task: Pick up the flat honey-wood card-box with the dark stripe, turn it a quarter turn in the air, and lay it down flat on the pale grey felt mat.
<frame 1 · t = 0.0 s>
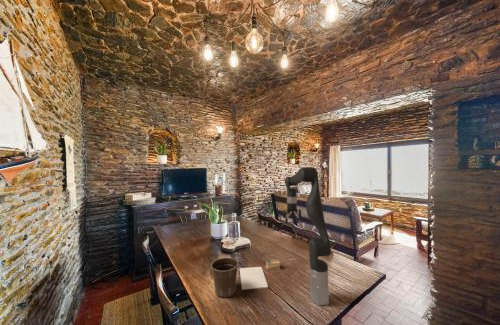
hand: (292, 222, 153), 29 cm above the table, tool pointing down, fingers open, 8 cm apart
felt mat: (252, 277, 130), on the table
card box: (272, 268, 142), on the table
plant pot: (225, 291, 116), on the table
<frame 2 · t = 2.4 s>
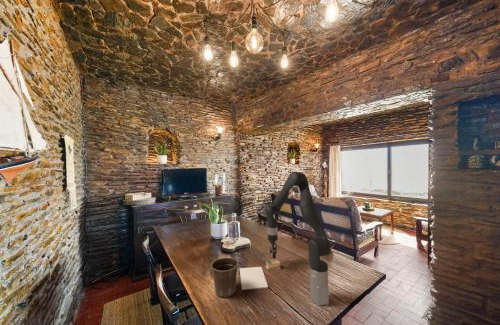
hand: (272, 255, 142), 9 cm above the table, tool pointing down, fingers open, 8 cm apart
nothing on the table moved.
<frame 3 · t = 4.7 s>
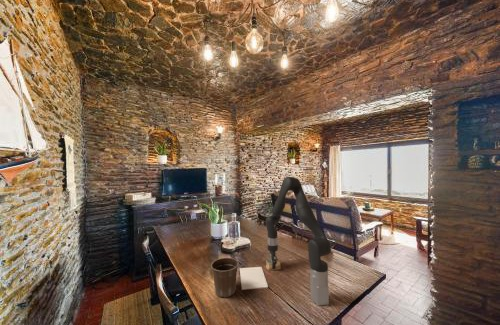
hand: (272, 266, 142), 1 cm above the table, tool pointing down, fingers closed on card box, 5 cm apart
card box: (273, 268, 142), on the table, touching gripper
everything else where it was.
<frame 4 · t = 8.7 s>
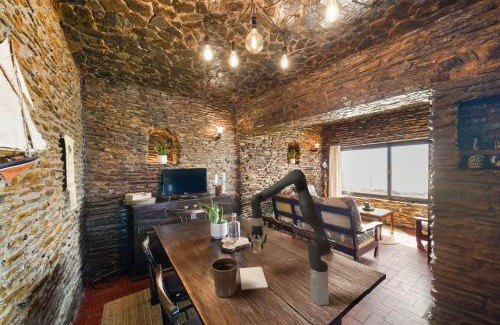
hand: (257, 248, 133), 18 cm above the table, tool pointing down, fingers closed on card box, 5 cm apart
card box: (257, 250, 134), point 17 cm above the table, touching gripper
everything else where it was.
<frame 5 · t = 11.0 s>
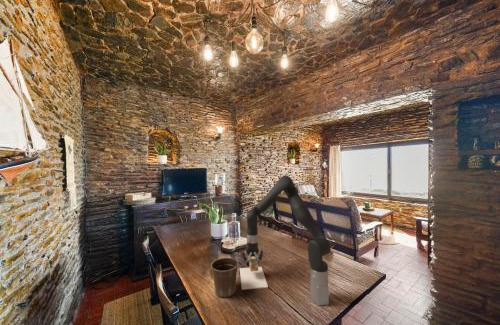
hand: (252, 266, 131), 7 cm above the table, tool pointing down, fingers closed on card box, 5 cm apart
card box: (252, 267, 131), point 6 cm above the table, touching gripper
everything else where it was.
when the fingers open (3 cm above the table, at t = 12.8 s): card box drops 1 cm, resting on felt mat.
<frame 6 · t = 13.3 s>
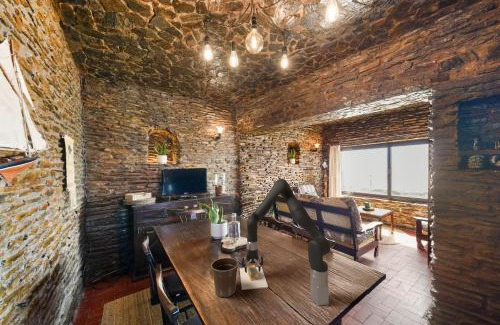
hand: (252, 272, 130), 4 cm above the table, tool pointing down, fingers open, 8 cm apart
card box: (252, 276, 130), resting on felt mat
everything else where it was.
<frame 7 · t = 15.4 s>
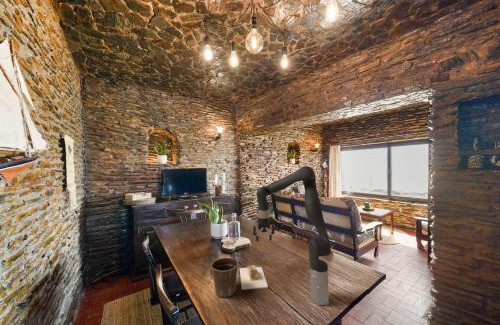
hand: (263, 240, 132), 24 cm above the table, tool pointing down, fingers open, 8 cm apart
nothing on the table moved.
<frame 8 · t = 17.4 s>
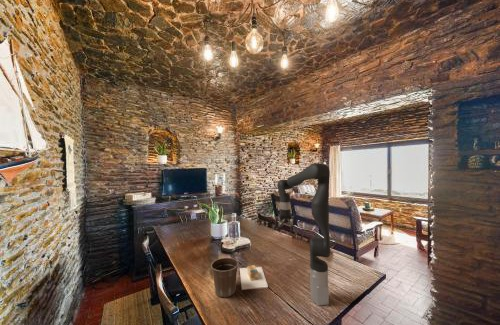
hand: (285, 231, 137), 28 cm above the table, tool pointing down, fingers open, 8 cm apart
nothing on the table moved.
at the end: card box inside the target area (0.2 cm from its centre), point 0.5 cm above the table; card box tilted 0°; the gripper is holding nothing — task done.
